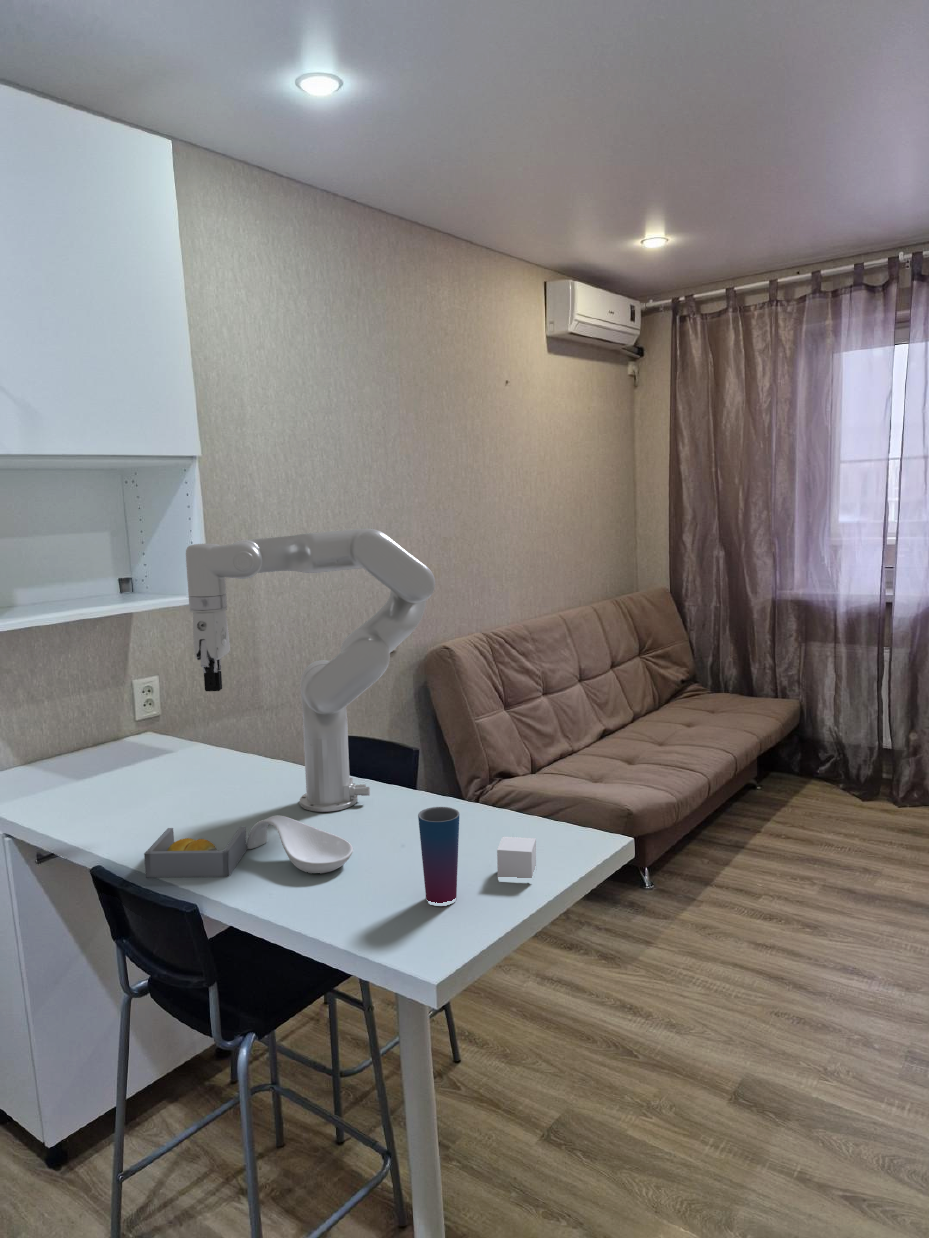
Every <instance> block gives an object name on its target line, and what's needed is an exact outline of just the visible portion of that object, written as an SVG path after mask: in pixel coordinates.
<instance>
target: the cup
mask: <svg viewBox="0 0 929 1238" xmlns="http://www.w3.org/2000/svg"><path fill="white" fill-rule="evenodd" d="M417 818H418V828H419V839H420V840H419V841H420V848H421V849H420V850H421V859H422V860H421V861H422V870H423V881H424V890H425V891H424V892H425V900H426V899H427V900H428V901H431V902H435V903H436V902H437V903H443V902H447V901H452V900H453V899H455V898H456V899H457V891H458V890H457V889H458V888H457V887H458V866H459V865H458V862H459V839H460V838H459V835H460V812H459V810H457V809H455V808H454V807H453V808H452V807H447V806H433V807H428V808H424V809H422V810H421V811H419V812H418V815H417Z"/></svg>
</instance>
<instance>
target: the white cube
mask: <svg viewBox="0 0 929 1238" xmlns="http://www.w3.org/2000/svg"><path fill="white" fill-rule="evenodd" d="M536 840H537V838H536V837H534V838H532V837H517V836H516V837H515V836H502V837H501V839H500V842H499V844H498V847H497V849H496V851H497V853H496V855H497V857H496V859H497V861H496V863H497V878H498V877H517V878H532V876H533V872H534V870H535V866H536V867H537V841H536Z"/></svg>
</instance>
